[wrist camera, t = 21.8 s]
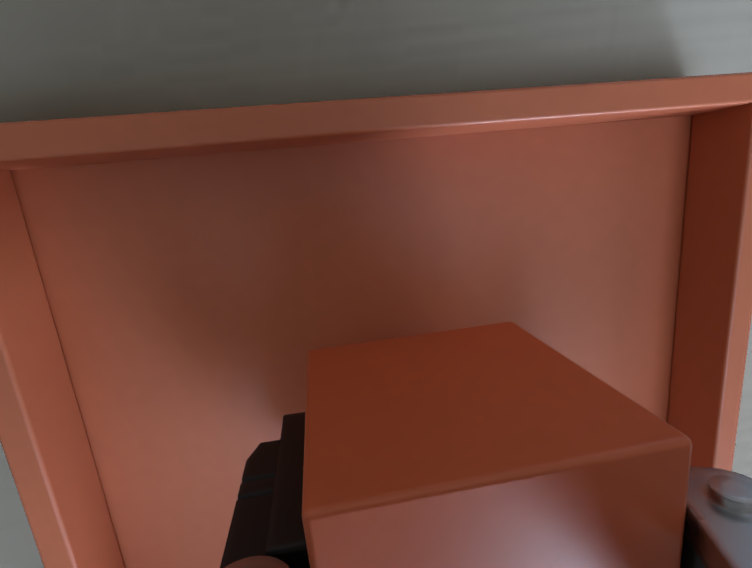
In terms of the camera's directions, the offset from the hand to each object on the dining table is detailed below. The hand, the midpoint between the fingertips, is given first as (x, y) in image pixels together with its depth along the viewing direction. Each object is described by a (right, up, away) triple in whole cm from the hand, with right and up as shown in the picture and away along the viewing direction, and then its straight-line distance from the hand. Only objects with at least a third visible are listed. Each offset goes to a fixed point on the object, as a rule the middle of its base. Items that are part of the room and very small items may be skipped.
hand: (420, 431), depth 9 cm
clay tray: (0, 0, +2) cm, 2 cm away
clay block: (0, 0, 0) cm, 0 cm away
